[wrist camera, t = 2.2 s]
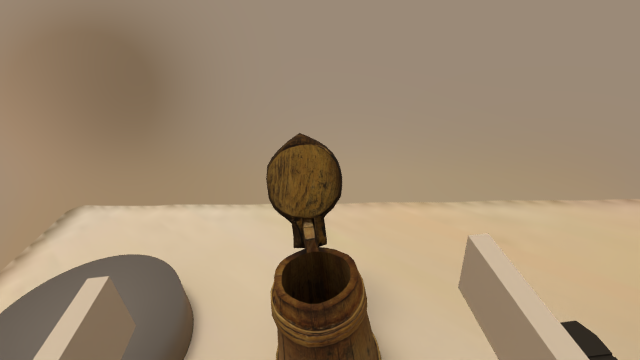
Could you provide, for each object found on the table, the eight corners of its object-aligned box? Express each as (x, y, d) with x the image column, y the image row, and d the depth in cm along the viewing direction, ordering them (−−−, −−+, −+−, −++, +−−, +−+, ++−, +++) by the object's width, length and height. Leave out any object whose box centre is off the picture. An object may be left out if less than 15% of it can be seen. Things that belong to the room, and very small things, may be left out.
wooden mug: (360, 279, 37) (354, 125, 28) (395, 416, 25) (403, 229, 16) (279, 290, 37) (245, 138, 28) (277, 434, 25) (217, 254, 16)
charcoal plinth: (229, 334, 33) (219, 307, 31) (-1, 542, 21) (-41, 520, 19) (144, 258, 43) (132, 233, 41) (-40, 370, 32) (-69, 344, 30)
